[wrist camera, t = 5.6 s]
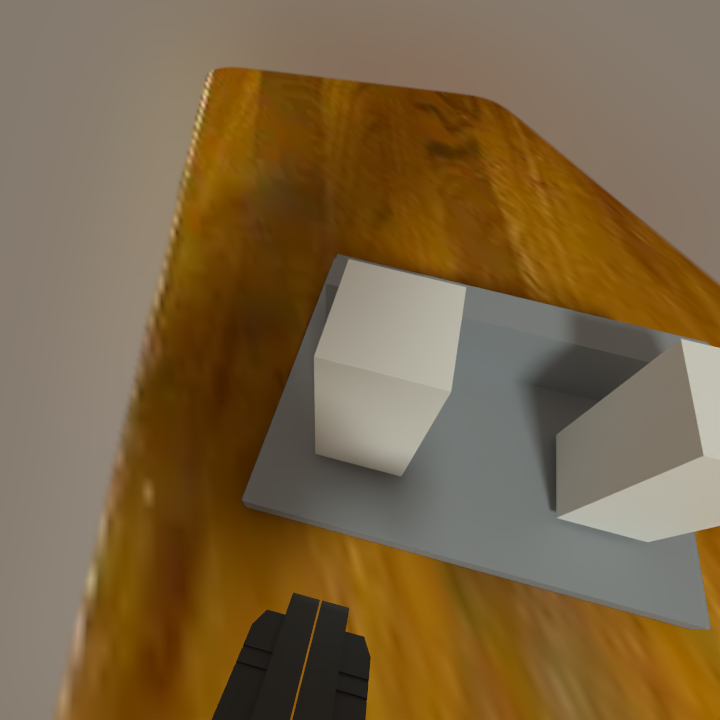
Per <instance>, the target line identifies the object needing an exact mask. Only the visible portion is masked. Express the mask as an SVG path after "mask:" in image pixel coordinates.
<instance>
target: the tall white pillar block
mask: <svg viewBox="0 0 720 720" xmlns="http://www.w3.org/2000/svg"><path fill="white" fill-rule="evenodd" d="M465 293H466V287H464V286H459V285H455V284H451V283H447V282H443V281H439V280H434V279H430V278H426V277H422V276H418V275H414V274H409V273H405V272H401V271H397V270H393V269H389V268H384V267H380V266H376V265H372V264H368V263H364V262H359V261H355V260H351V259H349V260H348V263H347V265H346V268H345V271H344V274H343V277H342V279H341V282H340V285H339V288H338V291H337V293H336V296H335V299H334V302H333V305H332V307H331V310H330V313H329V316H328V319H327V321H326V324H325V327H324V330H323V333H322V335H321V338H320V341H319V344H318V347H317V349H316V352H315V355H314V400H315V454H318V455H322V456H325V457H329V458H333V459H337V460H340V461H344V462H348V463H352V464H356V465H359V466H363V467H367V468H371V469H374V470H378V471H382V472H386V473H389V474H393V475H397V476H402V475H403V473H404V471H405V470H406V468H407V466H408V464H409V463H410V461H411V459H412V458H413V456H414V454H415V453H416V451H417V449H418V447H419V446H420V444H421V442H422V441H423V439H424V437H425V435H426V434H427V432H428V430H429V429H430V427H431V425H432V424H433V422H434V420H435V418H436V417H437V415H438V413H439V412H440V410H441V408H442V407H443V405H444V403H445V401H446V400H447V398H448V396H449V395H450V393H451V390H452V383H453V376H454V369H455V362H456V355H457V349H458V342H459V335H460V328H461V321H462V314H463V307H464V300H465Z"/></svg>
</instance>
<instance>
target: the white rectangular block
mask: <svg viewBox="0 0 720 720" xmlns="http://www.w3.org/2000/svg"><path fill="white" fill-rule="evenodd" d="M556 518H558V519H562V520H566V521H570V522H573V523H577V524H581V525H585V526H588V527H592V528H596V529H600V530H603V531H607V532H611V533H615V534H618V535H622V536H626V537H630V538H633V539H637V540H641V541H645V542H651V541H656V540H660V539H664V538H669V537H673V536H677V535H682V534H686V533H690V532H695V531H699V530H703V529H707V528H712V527H716V526H720V348H717V347H713V346H709V345H705V344H701V343H697V342H692V341H688V340H684V339H680V340H678V341H677V342H676V343H675V344H673V345H672V346H671V347H669V348H668V349H667V350H666V351H664V352H663V353H662V354H660V355H659V356H658V357H656V358H655V359H654V360H653V361H651V362H650V363H649V364H647V365H646V366H645V367H643V368H642V369H641V370H640V371H638V372H637V373H636V374H634V375H633V376H632V377H631V378H629V379H628V380H627V381H625V382H624V383H623V384H621V385H620V386H619V387H618V388H616V389H615V390H614V391H612V392H611V393H610V394H609V395H607V396H606V397H605V398H603V399H602V400H601V401H599V402H598V403H597V404H596V405H594V406H593V407H592V408H590V409H589V410H588V411H586V412H585V413H584V414H583V415H581V416H580V417H579V418H577V419H576V420H575V421H574V422H572V423H571V424H570V425H568V426H567V427H566V428H564V429H563V430H562V431H561V432H559V433H558V434H557V435H556Z"/></svg>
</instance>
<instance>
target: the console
mask: <svg viewBox="0 0 720 720" xmlns="http://www.w3.org/2000/svg"><path fill="white" fill-rule="evenodd" d="M349 259H351V260H355V261H359V262H364V263H368V264H372V265H376V266H380V267H384V268H389V269H393V270H397V271H401V272H405V273H409V274H414V275H418V276H422V277H426V278H430V279H434V280H439V281H443V282H447V283H451V284H455V285H459V286H464V287H466V293H465V300H464V307H463V314H462V321H461V328H460V335H459V342H458V349H457V355H456V362H455V369H454V376H453V383H452V390H451V393H450V395H449V396H448V398H447V400H446V401H445V403H444V405H443V407H442V408H441V410H440V412H439V413H438V415H437V417H436V418H435V420H434V422H433V424H432V425H431V427H430V429H429V430H428V432H427V434H426V435H425V437H424V439H423V441H422V442H421V444H420V446H419V447H418V449H417V451H416V453H415V454H414V456H413V458H412V459H411V461H410V463H409V464H408V466H407V468H406V470H405V471H404V473H403V475H402V476H397V475H393V474H389V473H386V472H382V471H378V470H374V469H371V468H367V467H363V466H359V465H356V464H352V463H348V462H344V461H340V460H337V459H333V458H329V457H325V456H322V455H318V454H315V400H314V355H315V352H316V349H317V347H318V344H319V341H320V338H321V335H322V333H323V330H324V327H325V324H326V321H327V319H328V316H329V313H330V310H331V307H332V305H333V302H334V299H335V296H336V293H337V291H338V288H339V285H340V282H341V279H342V277H343V274H344V271H345V268H346V265H347V263H348V260H349ZM680 339H684V340H688V341H692V342H697V343H701V344H705V345H709V343H707V342H703V341H699V340H694V339H690V338H686V337H682V336H678V335H674V334H669V333H665V332H661V331H657V330H653V329H649V328H644V327H640V326H636V325H632V324H628V323H624V322H619V321H615V320H611V319H607V318H603V317H599V316H594V315H590V314H586V313H582V312H578V311H574V310H569V309H565V308H561V307H557V306H553V305H549V304H544V303H540V302H536V301H532V300H528V299H524V298H519V297H515V296H511V295H507V294H503V293H499V292H494V291H490V290H486V289H482V288H478V287H474V286H469V285H465V284H461V283H457V282H453V281H449V280H444V279H440V278H436V277H432V276H428V275H424V274H419V273H415V272H411V271H407V270H403V269H399V268H394V267H390V266H386V265H382V264H378V263H374V262H369V261H365V260H361V259H357V258H353V257H349V256H344V255H340V254H337V257H336V258H334V260H333V263H332V265H331V268H330V271H329V273H328V276H327V279H326V281H325V284H324V286H323V289H322V292H321V294H320V297H319V299H318V302H317V305H316V307H315V310H314V312H313V315H312V318H311V320H310V323H309V325H308V328H307V331H306V333H305V336H304V338H303V341H302V344H301V346H300V349H299V352H298V354H297V357H296V359H295V362H294V365H293V367H292V370H291V372H290V375H289V378H288V380H287V383H286V385H285V388H284V391H283V393H282V396H281V398H280V401H279V404H278V406H277V409H276V411H275V414H274V417H273V419H272V422H271V425H270V427H269V430H268V432H267V435H266V438H265V440H264V443H263V445H262V448H261V451H260V453H259V456H258V458H257V461H256V464H255V466H254V469H253V471H252V474H251V477H250V479H249V482H248V484H247V487H246V490H245V492H244V495H243V498H242V500H241V501H242V502H243V504H244V505H245V507H248V508H252V509H255V510H259V511H262V512H266V513H270V514H273V515H277V516H281V517H284V518H288V519H291V520H295V521H299V522H302V523H306V524H310V525H313V526H317V527H321V528H324V529H328V530H331V531H335V532H339V533H342V534H346V535H350V536H353V537H357V538H360V539H364V540H368V541H371V542H375V543H379V544H382V545H386V546H389V547H393V548H397V549H400V550H404V551H408V552H411V553H415V554H419V555H422V556H426V557H429V558H433V559H437V560H440V561H444V562H448V563H451V564H455V565H458V566H462V567H466V568H469V569H473V570H477V571H480V572H484V573H487V574H491V575H495V576H498V577H502V578H506V579H509V580H513V581H517V582H520V583H524V584H527V585H531V586H535V587H538V588H542V589H546V590H549V591H553V592H556V593H560V594H564V595H567V596H571V597H575V598H578V599H582V600H585V601H589V602H593V603H596V604H600V605H604V606H607V607H611V608H614V609H618V610H622V611H625V612H629V613H633V614H636V615H640V616H644V617H647V618H651V619H654V620H658V621H662V622H665V623H669V624H673V625H676V626H680V627H683V628H687V629H707V630H711V628H710V622H709V616H708V610H707V604H706V598H705V592H704V586H703V580H702V574H701V568H700V562H699V556H698V550H697V544H696V538H695V532H690V533H686V534H682V535H677V536H673V537H669V538H664V539H660V540H656V541H651V542H645V541H641V540H637V539H633V538H630V537H626V536H622V535H618V534H615V533H611V532H607V531H603V530H600V529H596V528H592V527H588V526H585V525H581V524H577V523H573V522H570V521H566V520H562V519H558V518H556V435H557V434H558V433H559V432H561V431H562V430H563V429H564V428H566V427H567V426H568V425H570V424H571V423H572V422H574V421H575V420H576V419H577V418H579V417H580V416H581V415H583V414H584V413H585V412H586V411H588V410H589V409H590V408H592V407H593V406H594V405H596V404H597V403H598V402H599V401H601V400H602V399H603V398H605V397H606V396H607V395H609V394H610V393H611V392H612V391H614V390H615V389H616V388H618V387H619V386H620V385H621V384H623V383H624V382H625V381H627V380H628V379H629V378H631V377H632V376H633V375H634V374H636V373H637V372H638V371H640V370H641V369H642V368H643V367H645V366H646V365H647V364H649V363H650V362H651V361H653V360H654V359H655V358H656V357H658V356H659V355H660V354H662V353H663V352H664V351H666V350H667V349H668V348H669V347H671V346H672V345H673V344H675V343H676V342H677V341H678V340H680ZM709 346H710V345H709Z"/></svg>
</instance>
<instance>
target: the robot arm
mask: <svg viewBox="0 0 720 720" xmlns="http://www.w3.org/2000/svg"><path fill="white" fill-rule="evenodd" d="M319 601H320V600H318V599H314V598H311V597H307V596H303V595H300V594H296V593H293V595H292V598H291V601H290V604H289V606H288V609H287V612H286V615H284V614H280V613H277V612H273V611H270V610H266V611H265V612H264V613H263V614H262V615H261V616H260V617H259V618H258V619H257V620H256V621H255V622H254V623H253V624H252V626H251V628H250V631H249V633H248V635H247V638H246V640H245V642H244V645H243V648H242V649H241V652H240V654H239V657H238V659H237V661H236V665H235V666H234V668H233V671H232V673H231V675H230V678H229V680H228V683H227V685H226V687H225V690H224V692H223V694H222V697H221V699H220V701H219V704H218V706H217V709H216V711H215V713H214V716H213V718H212V720H290V717H291V713H292V709H293V705H294V701H295V697H296V693H297V689H298V685H299V681H300V677H301V673H302V669H303V665H304V661H305V657H306V653H307V649H308V645H309V641H310V637H311V633H312V629H313V625H314V621H315V617H316V613H317V609H318V605H319ZM348 611H349V608H347V607H343V606H340V605H336V604H333V603H329V602H325V601H322V604H321V608H320V611H319V615H318V619H317V623H316V627H315V631H314V635H313V639H312V643H311V647H310V651H309V655H308V659H307V663H306V667H305V671H304V675H303V679H302V684H301V688H300V692H299V696H298V700H297V704H296V708H295V712H294V716H293V720H365V716H366V705H367V703H366V701H367V693H368V680H369V670H370V654H369V651H368V648H367V645H366V642H365V638H364V637H363V636H359V635H356V634H352V633H349V632H345V630H346V624H347V618H348Z"/></svg>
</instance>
